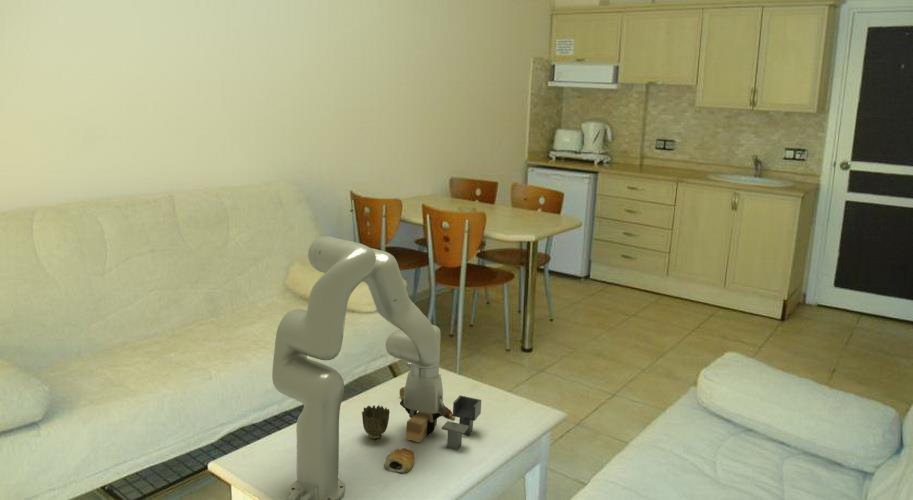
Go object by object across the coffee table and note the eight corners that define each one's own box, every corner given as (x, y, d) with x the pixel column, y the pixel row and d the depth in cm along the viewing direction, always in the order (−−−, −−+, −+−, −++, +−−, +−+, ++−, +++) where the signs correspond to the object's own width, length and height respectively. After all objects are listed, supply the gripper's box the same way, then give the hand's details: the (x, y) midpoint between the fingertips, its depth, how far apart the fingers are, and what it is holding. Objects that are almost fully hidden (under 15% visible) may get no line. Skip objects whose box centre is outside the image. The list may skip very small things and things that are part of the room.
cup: (384, 446, 189) (384, 418, 187) (357, 442, 190) (358, 415, 188) (392, 433, 196) (393, 406, 194) (366, 429, 197) (367, 403, 195)
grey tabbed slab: (461, 452, 187) (463, 432, 186) (440, 447, 189) (441, 427, 188) (467, 446, 191) (468, 425, 190) (446, 441, 193) (447, 420, 192)
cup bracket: (473, 439, 195) (475, 407, 193) (451, 434, 197) (453, 402, 195) (479, 431, 200) (481, 399, 197) (458, 426, 202) (459, 395, 200)
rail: (419, 442, 191) (420, 424, 190) (405, 438, 192) (406, 421, 191) (436, 425, 202) (437, 408, 201) (423, 422, 203) (424, 405, 202)
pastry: (396, 453, 186) (396, 439, 185) (420, 458, 184) (421, 444, 184) (382, 470, 177) (382, 457, 176) (407, 476, 176) (408, 462, 175)
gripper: (391, 368, 193) (389, 430, 197) (448, 380, 187) (445, 444, 191) (403, 359, 200) (400, 419, 204) (458, 370, 194) (455, 432, 198)
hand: (422, 430), depth 198 cm, fingers closed on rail, 4 cm apart
